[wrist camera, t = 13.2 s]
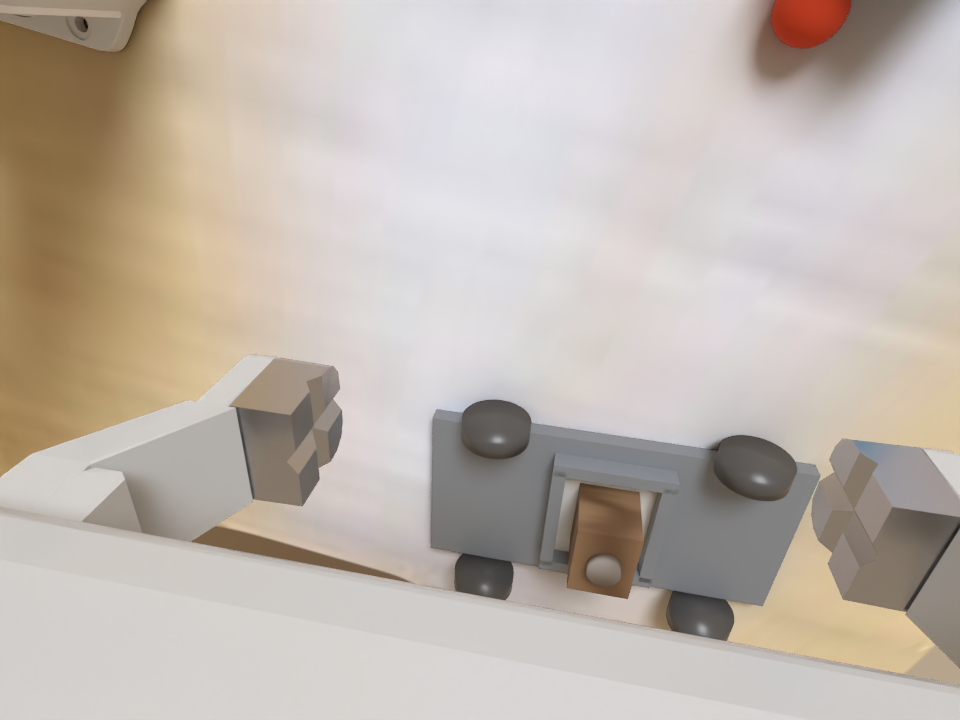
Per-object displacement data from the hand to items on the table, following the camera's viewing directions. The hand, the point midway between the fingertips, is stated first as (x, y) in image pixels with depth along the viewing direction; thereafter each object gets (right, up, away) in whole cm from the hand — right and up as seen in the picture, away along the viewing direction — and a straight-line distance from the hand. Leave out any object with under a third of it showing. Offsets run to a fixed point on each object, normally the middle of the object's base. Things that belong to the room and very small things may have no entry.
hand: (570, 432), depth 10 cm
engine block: (+8, -11, +37) cm, 40 cm away
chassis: (+9, -11, +38) cm, 41 cm away
